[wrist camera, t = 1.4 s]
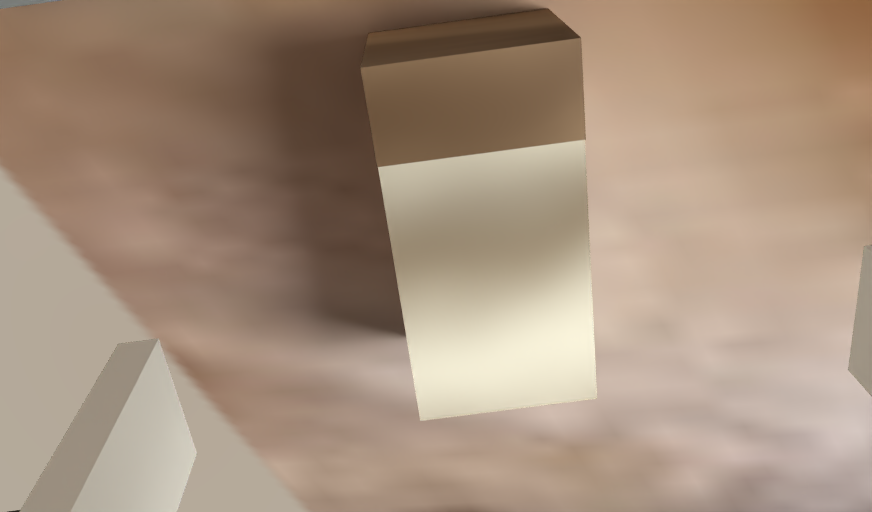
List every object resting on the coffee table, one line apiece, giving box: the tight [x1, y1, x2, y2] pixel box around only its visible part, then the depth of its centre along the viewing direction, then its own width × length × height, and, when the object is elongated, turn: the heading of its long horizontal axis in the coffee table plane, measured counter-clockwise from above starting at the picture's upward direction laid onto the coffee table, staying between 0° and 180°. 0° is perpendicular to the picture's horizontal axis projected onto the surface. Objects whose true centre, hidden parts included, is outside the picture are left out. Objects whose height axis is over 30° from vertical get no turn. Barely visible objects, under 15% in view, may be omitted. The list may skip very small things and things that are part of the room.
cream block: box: [360, 9, 597, 421], centre depth 22 cm, size 10×5×4 cm, turn 7°
